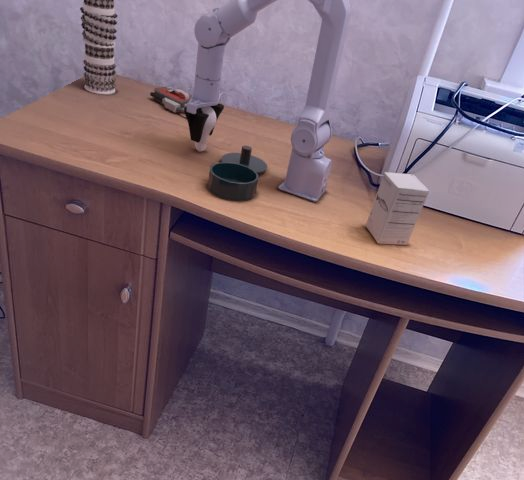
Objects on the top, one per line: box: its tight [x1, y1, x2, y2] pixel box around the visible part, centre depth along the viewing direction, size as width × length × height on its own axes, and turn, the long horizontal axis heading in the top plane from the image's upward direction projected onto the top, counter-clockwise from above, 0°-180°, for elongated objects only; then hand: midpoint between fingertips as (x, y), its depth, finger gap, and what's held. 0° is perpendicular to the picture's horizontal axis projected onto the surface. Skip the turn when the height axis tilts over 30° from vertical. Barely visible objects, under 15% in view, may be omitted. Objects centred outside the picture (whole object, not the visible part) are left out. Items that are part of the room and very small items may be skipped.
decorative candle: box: [79, 0, 118, 95], centre depth 141 cm, size 9×9×25 cm
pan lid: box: [220, 145, 268, 175], centre depth 125 cm, size 11×11×5 cm
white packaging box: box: [365, 171, 430, 246], centre depth 109 cm, size 7×7×13 cm
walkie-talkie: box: [149, 86, 191, 115], centre depth 148 cm, size 9×4×20 cm
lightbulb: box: [194, 106, 217, 153], centre depth 125 cm, size 6×6×11 cm
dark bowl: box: [207, 161, 259, 202], centre depth 115 cm, size 11×11×4 cm
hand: (201, 137), depth 127 cm, fingers closed on lightbulb, 6 cm apart
